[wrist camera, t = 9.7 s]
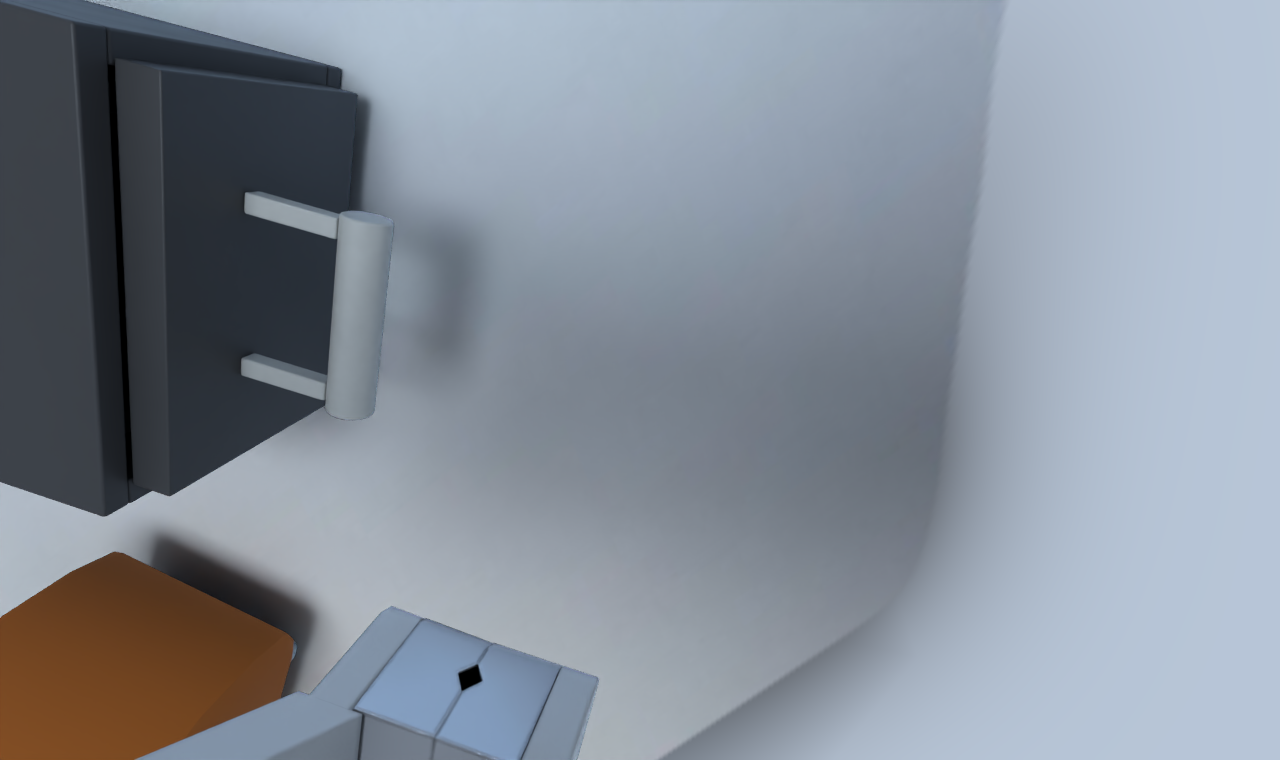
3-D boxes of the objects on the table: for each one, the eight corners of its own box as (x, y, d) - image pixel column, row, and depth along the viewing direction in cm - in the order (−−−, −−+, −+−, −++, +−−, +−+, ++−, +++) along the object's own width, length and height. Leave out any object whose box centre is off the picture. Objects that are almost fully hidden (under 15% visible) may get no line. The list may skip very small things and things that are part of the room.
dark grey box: (342, 68, 23) (73, 20, 14) (319, 397, 28) (104, 518, 19) (-31, -31, 24) (-494, -132, 15) (7, 300, 29) (-335, 370, 20)
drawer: (476, 125, 22) (332, 116, 15) (433, 431, 26) (304, 541, 19) (1, -2, 23) (-343, -67, 16) (31, 306, 28) (-232, 364, 20)
